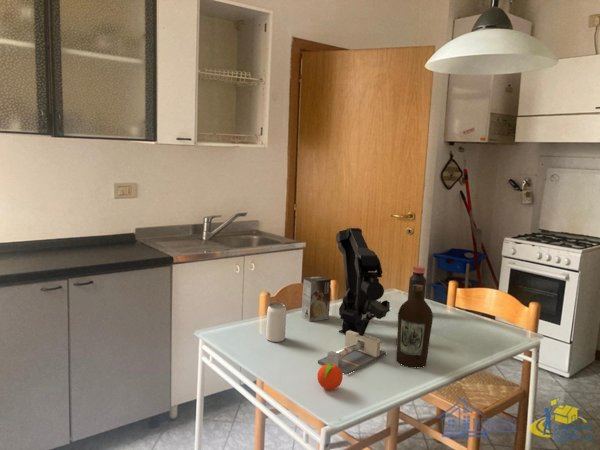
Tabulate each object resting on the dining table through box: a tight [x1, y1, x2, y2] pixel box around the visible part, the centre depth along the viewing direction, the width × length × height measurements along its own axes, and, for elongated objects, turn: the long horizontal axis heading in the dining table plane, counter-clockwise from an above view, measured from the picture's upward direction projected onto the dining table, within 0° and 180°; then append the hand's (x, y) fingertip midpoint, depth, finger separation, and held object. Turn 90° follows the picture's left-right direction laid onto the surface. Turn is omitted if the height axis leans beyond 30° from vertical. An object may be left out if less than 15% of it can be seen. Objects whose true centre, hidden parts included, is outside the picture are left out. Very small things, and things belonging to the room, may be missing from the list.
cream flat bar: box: [344, 330, 382, 357], centre depth 159 cm, size 2×12×5 cm, turn 50°
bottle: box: [407, 265, 427, 301], centre depth 205 cm, size 7×7×20 cm
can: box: [265, 302, 287, 343], centre depth 169 cm, size 6×6×12 cm
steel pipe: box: [326, 335, 379, 367], centre depth 156 cm, size 22×4×4 cm, turn 140°
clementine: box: [316, 363, 343, 391], centre depth 135 cm, size 8×7×7 cm
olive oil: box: [395, 284, 434, 369], centre depth 155 cm, size 11×11×25 cm
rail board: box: [317, 347, 387, 375], centre depth 156 cm, size 22×11×1 cm, turn 140°
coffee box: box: [301, 275, 332, 322], centre depth 193 cm, size 9×6×16 cm
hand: (361, 335), depth 167 cm, fingers closed
